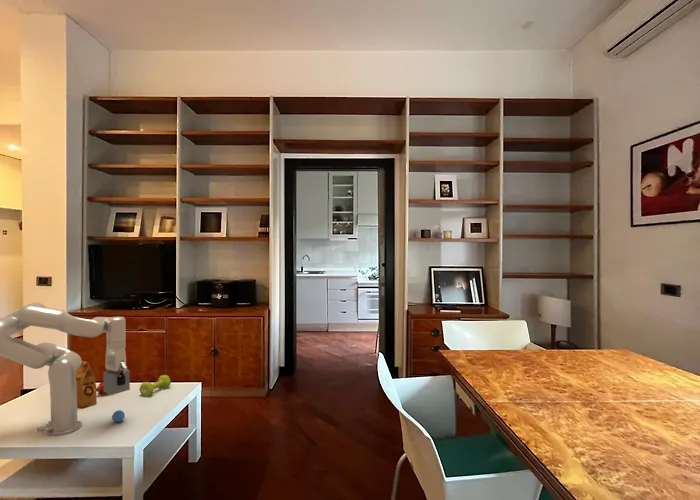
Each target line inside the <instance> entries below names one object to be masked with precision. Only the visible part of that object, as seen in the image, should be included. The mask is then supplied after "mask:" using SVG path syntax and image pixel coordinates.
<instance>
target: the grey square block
mask: <svg viewBox="0 0 700 500" xmlns="http://www.w3.org/2000/svg"><path fill="white" fill-rule="evenodd" d="M120 373H121V371H120ZM130 375H131V373H130V370H129V369H127V371H126V375H125V384H124V385H120V386H118V385H117V377H118V373H117V371H116V372H114V371H111V370H110V371H108V370H106V371H103V376H102V377H103V378H102V379H103V381H102V382H103V383H104V392H106V393H109V395H112V396H113V395H116V394H121V393H124V392H126V391H129V390H130V389H131V387H130V385H131V381H130V380H131V379H130V378H131V377H130Z"/></svg>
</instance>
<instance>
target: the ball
mask: <svg viewBox="0 0 700 500" xmlns="http://www.w3.org/2000/svg"><path fill="white" fill-rule="evenodd" d="M125 415H126V414H125V412H124V411H123V410H116V411H115V412H113V413H112V416H111V418H112V419H111V420H112V421H113V422H115V423H120V422H123V420H124V419H125Z"/></svg>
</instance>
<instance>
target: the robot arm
mask: <svg viewBox="0 0 700 500" xmlns="http://www.w3.org/2000/svg"><path fill="white" fill-rule="evenodd" d="M126 322H127V321H126V318H125V317H124V316H112V317H108V316H107V317H106V316H96V317H93V318H91V319H87V318H81V317H78V316H73V315H71V314H69V312H68V311H66V310H63V309H58V308H51V307H46V305H45V304H43V303H40V302H32V303H28V304H25V305H23V306H21V307H20V308H19V309H18V310H16V311H14V312H12V313H10V314H7V315H5V316H4V317H0V357H2V358H4V359H7V360H9V361H13V362H15V363H18V364H20V365H23V366H25V367H28V368H30V369H33V370H38V369H42V368H44V367H45V366H48V371H47V375H48V376H47V377H48V382H49V396H50V420H49V421H48V422H47V423H46V424H45V425H41V426H39V427H37V428H36V429H37V433H41V432H43V433H45V432H46V434H47V435H49V436H61V435H66V434H71V433H73V432H75V431H77V430H79V429H80V428H81V427H82V422H81V421H80V420H78V406H77V384H76V377H75V372H76V371H77V370H78V369H79V367H80V366H81V363H82V361H83V360H82V357H81V356H80V355H79V354H78V353H76V352H75V351H73V350H70V349H67V348H65V347H63V346H60V345H57V344H55V343H52V342H41V343H40V342H39V343H38V344H33V343H30V342H28V341H25V340H24V339H19V338H15V337H12V336H14V335H15V334H17V333H19V332H21V331H23V330H25V329H27V328H29V327H39V328H44V329H50V330H56V331H59V332H62V333H65V334H69V335H72V336H78V337H82V338H97V337H99V336H101V334H103V333H106V351H105V359H104V360H105V362H104V363H105V365H104V367H105V368H104V369H106V371H110V370H111V371H114V372H116V371H117V373H118V377H117V385H118V386H120V385H124V384H125V375H126V371H127V370H128V366H127V353H126V347H127V346H126V345H127V344H126V342H127V341H126V335H127V334H126V330H127V329H126ZM120 371H121V373H120Z"/></svg>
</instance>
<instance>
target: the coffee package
mask: <svg viewBox="0 0 700 500" xmlns="http://www.w3.org/2000/svg"><path fill="white" fill-rule="evenodd" d="M75 377H76V384H77V408H81V409H85V408H87V407H91V406H93V405H96V404H97V383H96V382H97V381H96V378H95V374H94V371H93V369H92V367H91V366H90V363H89V362H87V361H84V360H82V363H81V366H80V367H79V369H78V370H77V371H76V372H75Z"/></svg>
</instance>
